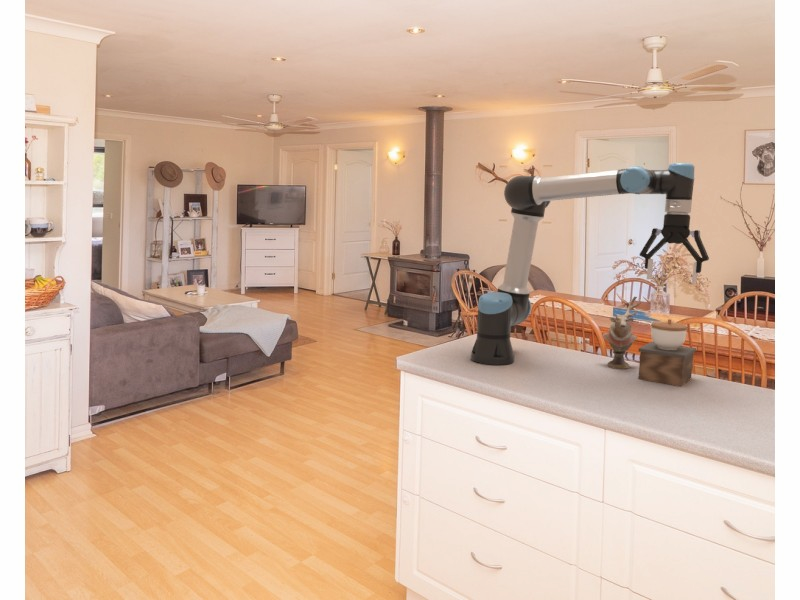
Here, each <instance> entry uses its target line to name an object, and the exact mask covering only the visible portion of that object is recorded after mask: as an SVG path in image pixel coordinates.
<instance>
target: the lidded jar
mask: <svg viewBox="0 0 800 600" xmlns="http://www.w3.org/2000/svg"><path fill="white" fill-rule="evenodd" d="M650 324H651V325H650V326H651V329H650V334H651V340H652V342H654V343H655V345H656V346H657V348H659V349H664V350H677V349H678V348H679V347H680V346H683V344H684V343H685V341H686V339H687V331H688V325H686V324H684V323H679V322H673V321H672V319H671V318H668V319H667V321H653V322H651V323H650Z"/></svg>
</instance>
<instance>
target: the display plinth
mask: <svg viewBox="0 0 800 600" xmlns="http://www.w3.org/2000/svg"><path fill="white" fill-rule="evenodd" d="M638 352H639V354H640V355H639V365H638V377H637V379H639V380H643V381H650V382H655V383H660V384H665V383H666V384H667V385H671V384H672V386H676V385H677V386H678V387H682V386H683V385H685V384H686V383H687V382H688V381H690V380H691V379H692V374H693V372H692V371H693V365H694V364H693V363H694V354H695V352H697V347H692V346H691V347H690V346H683V345H681V346H680V347H679V348H678V349H677V350H664V349H659V348H657V346H656V345H655V343H654V342H653V341H650V342H648V343H647V344H644V345H643V346H640V347H639V348H638ZM690 378H691V379H690ZM686 381H687V382H686ZM685 382H686V383H685ZM684 383H685V384H684Z"/></svg>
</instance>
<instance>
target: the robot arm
mask: <svg viewBox="0 0 800 600" xmlns="http://www.w3.org/2000/svg"><path fill="white" fill-rule="evenodd" d="M694 184H695V166H694V164H693V163H687V162H676V163H673V162H672V163H670V164H668V168H667V169H662V170H661V169H660V170H659V169H647V168H644V167H641V166H631V167H628V168H622V169H612V170H611V169H610V170H603V171H602V170H601V171H594V172H586V173H576V174H575V173H574V174H569V175H568V174H567V175H566V174H565V175H560V176H558V175H557V176H550V177H549V176H548V177H541V176H540V175H529V176H528V175H517V176H514V177H512V178H511V179H510V180H509V181H508V182H507V183H506V185H505V187H504V191H503V192H504V193H503V195H504V199H505V202H506V204H508V205H509V207H511V210H510V214H511V216H513V224H512V230H511V234H510V235H511V236H510V239H509V240H510V242H509V246H508V254H507V258H506V259H507V260H506V264H505V270H504V275H503V276H504V277H503V282H502V283H501V284H500V285H499V286H497V292H496V291H493V292H487V293H486V292H485V293H484V294H482V295H480V296H479V298H478V304H477V323H476V324H477V325H476V338H475V342H474V345H473V347H472V350H471V352H470V360H471V359H472V360H471V361H473V362H475V361H476V362H475V363H478V362H479V364H483V363H484V365H492V366H494V365H496V366H498V365H499V366H501V365H504V366H505V365H509V364H514V362H515V353H514V349H513V345H512V342H511V330H512V329H511V328H512V327H513V326H517V325H520V324H521V323H523V322H524V321H526V320H527V319H528V318H529V316H530V314H531V312H532V303H531V301H530V294H531V292H530V290H529V289H528V287H527V286H528V281H529V275H530V270H531V264H532V259H533V253H534V247H535V243H536V242H535V241H536V236H537V231H538V227H539V226H538V225H539V222H540V221H541V220H542V219H544V217H545V211H546V208H548V206H549V205H550V203H551V201H560V200H561V201H562V200H571V199H583V198H593V197H604V196H605V197H606V196H612V195H614V196H615V195H624V194H625V195H627V194H635V195H665V205H664V212H665V213H666V214H664V215H663V216H664V217H663V224H662V225H663V226H662V229H661V228H660V229H659V228H657V227H653V228H652V229H651V234H650V236H649V238H648V240H647V241H646V243H645V244H644V246H643V248H642V250H640V252H639V256H640V257H642V258H644V269H645V270H646V271H647V272H646V273H647V274H646V280H652V277H653V267H654V266H653V265H654V258H652V257H653V256H655V254H657V252H658V251H659V250H660V249H661V248H663V246H664V245H666V244H675V245H676V244H677V245H680V244H682V245H683V247H685V248H686V249H687V251H688V252H689V253H690V255H691V256H692V257H693V259H694V260H695V261H694V262H693V266H692V276H691V284H692V285H693V284H697V279H698V274H700V273H701V272H702V267H703V264H702V263H704V262H706V261H709V260H710V257H709V254H708V252H707V250H706V248H705V245H704V243H703V240H702V237H701V231H700V230H699V229H697V230H690V225H691V215H690V214H691V213H692V202H693V191H694ZM660 234H661V235H662V237H663V238H662V239H660V240H659V242H658V243H657V244H656V245H655V246H654V247H652V246H653V243H654V242H655V240H656V239H657V238H658V237H657V236H659V235H660ZM689 236H691V237H692V238H693V239H694V241H695V243H696V246H697V248H698V251H699V252H698V251H697V250H696V249H695V247H693V245H692V244H691V242H690V241H689V239H688V238H689ZM651 247H652V248H651ZM650 248H651V250H650ZM649 250H650V251H649ZM648 251H649V252H648ZM699 253H700V254H699Z"/></svg>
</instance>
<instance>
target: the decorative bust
mask: <svg viewBox="0 0 800 600" xmlns="http://www.w3.org/2000/svg"><path fill="white" fill-rule="evenodd" d="M637 298H638V297H637V296H633V298H632V299H631V301H630V302H629V304H628V307H627V309H626V312H625V313H624V314H618V313H617V314H616V316H615V317H614V316H610V317H609V321H610V322H611V323H610V325H609V328H608V329H609V330H608V332H605V333H603V334H602V335H601V336H602V338H603V339H604V340H605V341H607V342H608V344H609V346H610V347H611V348H612V354H614V356H613V359H612V360H610V361H609V362H607V363H606V364H607V366H608V368H612V369H618V370H619V369H620V370H625V369H627V370H628V369H629V368H630V367H631V366H630V364H629V363H628V362H626V361H625V359H624V358H625V357H624V356H625V355H626V354H627V351H628V350H629V349H630V348H631V346H632V344H633V343H634V342H635V341H636V340H637V338H638V336H637V334H635V333H632V325H631V324H630V323H632V322H633V321H634V318H631V317H633V316H635V315H637V312H632V313H631V311H632V310H634V309H635V308H637V307H639V306H640V305H641V304H642V301H639V302H636V300H637ZM635 302H636V304H634V303H635Z"/></svg>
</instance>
